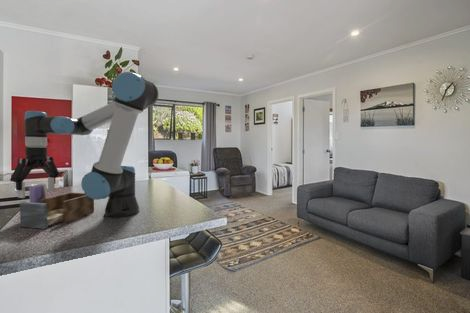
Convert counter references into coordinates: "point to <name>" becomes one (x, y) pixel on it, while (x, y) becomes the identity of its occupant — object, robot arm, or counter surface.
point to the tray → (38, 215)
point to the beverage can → (37, 192)
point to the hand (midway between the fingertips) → (37, 194)
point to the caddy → (70, 205)
